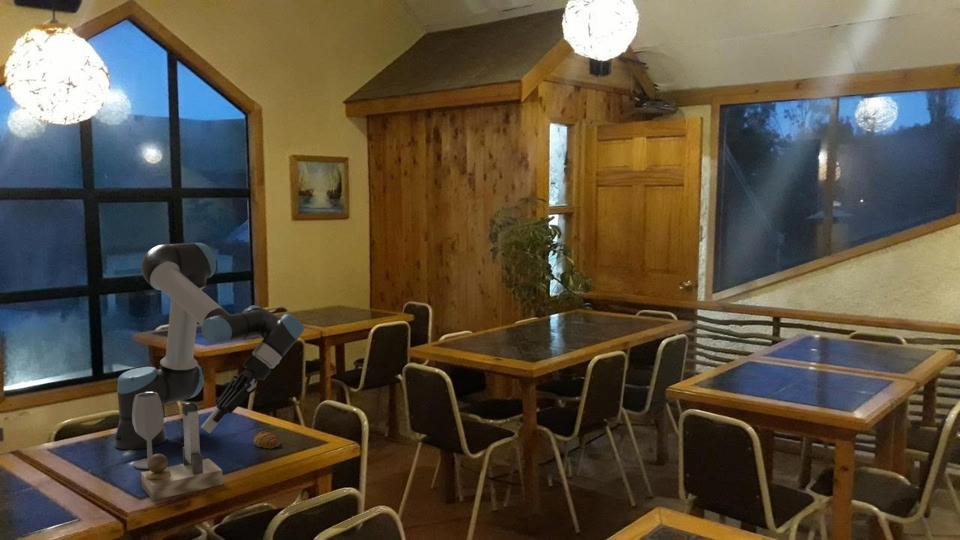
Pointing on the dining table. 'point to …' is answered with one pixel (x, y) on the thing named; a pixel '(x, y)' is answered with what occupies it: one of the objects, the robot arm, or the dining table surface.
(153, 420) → the wineglass
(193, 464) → the nutcracker base
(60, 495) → the dining table surface
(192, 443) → the lever
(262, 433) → the pastry
